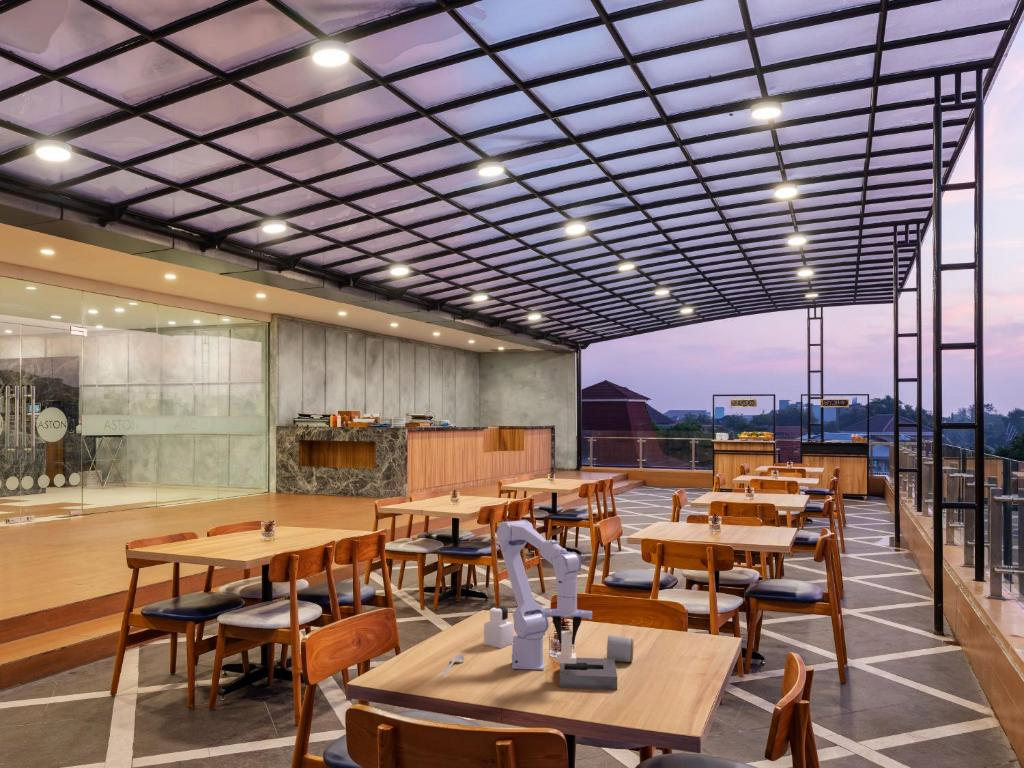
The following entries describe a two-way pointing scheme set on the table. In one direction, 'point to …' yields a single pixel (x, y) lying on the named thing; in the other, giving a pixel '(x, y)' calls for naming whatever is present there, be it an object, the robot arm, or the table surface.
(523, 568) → the robot arm
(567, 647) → the peg
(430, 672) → the table surface
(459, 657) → the spoon
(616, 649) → the ceramic mug
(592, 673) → the keyhole plate
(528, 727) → the table surface
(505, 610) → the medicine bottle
